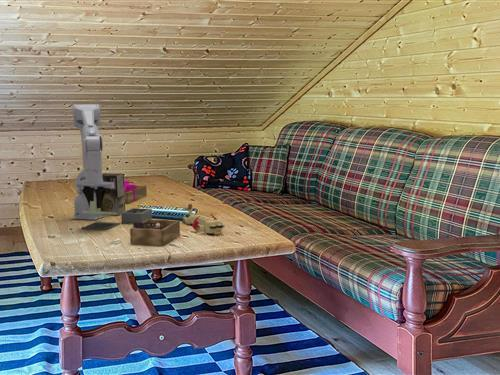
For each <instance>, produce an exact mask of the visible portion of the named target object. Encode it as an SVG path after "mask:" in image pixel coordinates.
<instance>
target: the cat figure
mask: <svg viewBox="0 0 500 375" xmlns="http://www.w3.org/2000/svg"><path fill="white" fill-rule="evenodd" d="M192 208H193V204H192V203H188V206H187V211H188V214H189V216H188V217H187V216H183V217H182V218H183V220H181V223H182V224H185V225H187V224H189V225H192V226H191V227H192V228H193V230H194V231H196V232H199V231H203V233H204V234H208V235H209V234H214V235H221V234H220V233H221V232H222V231H223V229H224V228H225V227H226V225H225V223H224V224H223V223H222V221H221V220H218V218H217V217H215V215H213V214H211V213H210V214H209V216H211V217H212V218H213V219H212V218H211V217H208V216H207V215H201V214H194V213H193V210H192ZM198 225H200V226H199V229H198Z"/></svg>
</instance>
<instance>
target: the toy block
mask: <svg viewBox="0 0 500 375" xmlns="http://www.w3.org/2000/svg"><path fill="white" fill-rule="evenodd" d="M124 191H125V192H129V191H133V198H134V202H136V201H135V184H134V183H133V184H132V183H131V184H130V180H126V179H124Z"/></svg>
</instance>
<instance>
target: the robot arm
mask: <svg viewBox="0 0 500 375" xmlns="http://www.w3.org/2000/svg"><path fill="white" fill-rule="evenodd" d="M72 117H73V125H74V127H75V128H77V129H79V131H80V137H81V139H80V140H81V153H82V168H83V170H81V171H80V172H79V173H78V174H77V176H76V181H74V188H76V193H77V194H78V195H76V196H75V198H74V201H73V206H74V209H73V210H74V217H73V219H74V220H92V221H97V220H100V219H101V218H104V217H105V216H97V215H88V213H82V211H90V201H97V208H101V206H102V201H103V198H104V195H105V193H106V191H107V188H110V189H112V188H115V187H114V182H103V179H102V174H103V163H102V162H103V161H102V160H103V158H102V157H103V156H102V152H103V149H104V145H103V138H102V135H101V134H100V130H99V124H100V119H101V110H100V105H99V104H98V103H96V104H89V103H88V104H76V103H75V104H73V105H72ZM100 211H101V209H100Z"/></svg>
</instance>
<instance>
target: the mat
mask: <svg viewBox="0 0 500 375" xmlns="http://www.w3.org/2000/svg"><path fill="white" fill-rule="evenodd" d="M121 224H122V222H107V221H95V222H92V223H90V224H87V225H85V226H84V227H81V230H90V231H91V230H94V231H95V230H96V231H109V230H111V229H113V228H115V227H117V226H120V225H121Z"/></svg>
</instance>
